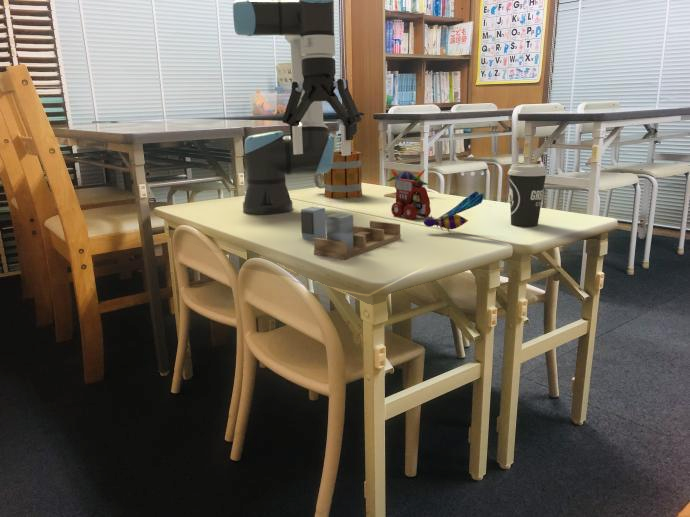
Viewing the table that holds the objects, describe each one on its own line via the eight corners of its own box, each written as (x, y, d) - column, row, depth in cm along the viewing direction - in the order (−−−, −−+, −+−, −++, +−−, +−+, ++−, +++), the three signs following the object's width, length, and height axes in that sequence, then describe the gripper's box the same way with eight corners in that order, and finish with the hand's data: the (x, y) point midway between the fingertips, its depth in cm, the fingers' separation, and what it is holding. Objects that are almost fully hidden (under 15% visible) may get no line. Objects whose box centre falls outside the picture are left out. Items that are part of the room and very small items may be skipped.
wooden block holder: (313, 254, 116) (312, 216, 114) (372, 234, 133) (371, 201, 131) (344, 259, 111) (343, 220, 109) (400, 238, 128) (400, 204, 126)
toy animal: (398, 193, 196) (398, 166, 194) (431, 197, 186) (431, 169, 183) (376, 196, 189) (376, 169, 187) (409, 201, 178) (409, 171, 176)
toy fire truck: (418, 222, 146) (418, 183, 143) (387, 215, 156) (387, 178, 153) (436, 218, 150) (437, 180, 147) (405, 212, 160) (405, 176, 157)
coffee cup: (524, 230, 133) (528, 168, 129) (496, 223, 141) (499, 165, 137) (552, 226, 137) (557, 165, 133) (524, 219, 145) (527, 162, 141)
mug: (370, 195, 192) (369, 151, 188) (347, 200, 182) (346, 155, 178) (326, 191, 204) (324, 150, 200) (302, 196, 193) (300, 153, 189)
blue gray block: (325, 237, 131) (325, 208, 129) (313, 240, 128) (312, 211, 126) (313, 235, 134) (312, 206, 132) (300, 238, 130) (299, 209, 128)
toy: (421, 231, 135) (422, 190, 132) (476, 228, 136) (477, 188, 133) (428, 237, 128) (429, 195, 125) (485, 235, 129) (487, 193, 126)
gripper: (264, 60, 125) (269, 154, 130) (357, 52, 112) (359, 157, 117) (284, 62, 131) (289, 152, 137) (375, 54, 118) (376, 154, 123)
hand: (321, 154), depth 127 cm, fingers open, 13 cm apart
